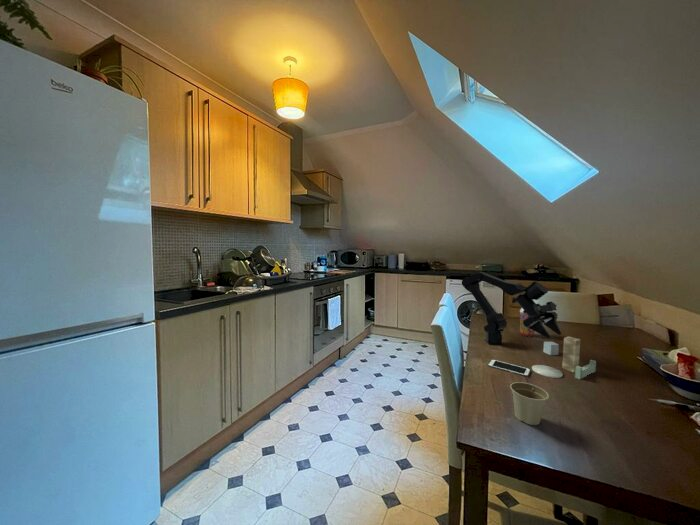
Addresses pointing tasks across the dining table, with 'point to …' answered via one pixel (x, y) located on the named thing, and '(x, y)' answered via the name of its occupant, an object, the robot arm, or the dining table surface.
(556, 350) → the grey block
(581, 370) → the fence
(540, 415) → the flower pot
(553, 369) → the coaster
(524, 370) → the cell phone
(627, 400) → the dining table surface
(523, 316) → the smoothie
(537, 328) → the robot arm
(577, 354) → the beech block
